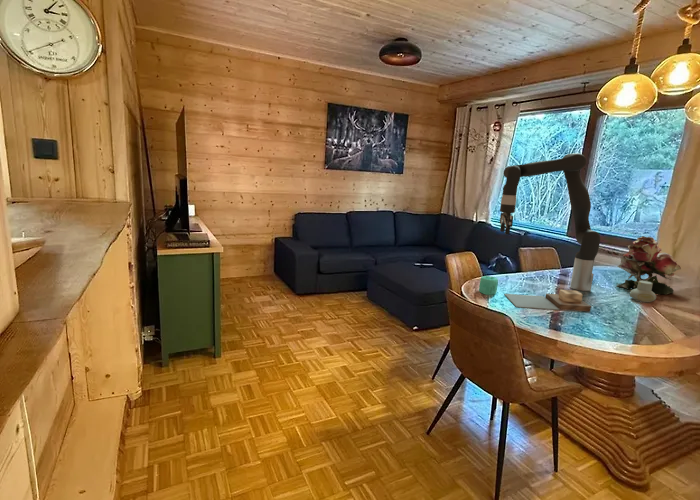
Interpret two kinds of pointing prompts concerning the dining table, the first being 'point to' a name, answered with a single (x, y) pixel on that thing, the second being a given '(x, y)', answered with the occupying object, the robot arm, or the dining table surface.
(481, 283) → the green cylinder
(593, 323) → the dining table surface
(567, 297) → the beech block
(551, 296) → the walnut board
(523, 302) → the slate mat
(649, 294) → the air freshener
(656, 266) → the rose bouquet
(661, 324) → the dining table surface
